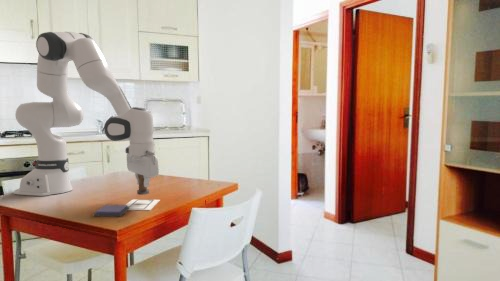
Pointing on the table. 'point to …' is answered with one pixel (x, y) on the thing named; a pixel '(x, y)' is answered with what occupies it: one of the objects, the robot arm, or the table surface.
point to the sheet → (141, 204)
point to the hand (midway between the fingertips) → (142, 185)
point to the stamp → (142, 189)
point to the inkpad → (111, 211)
